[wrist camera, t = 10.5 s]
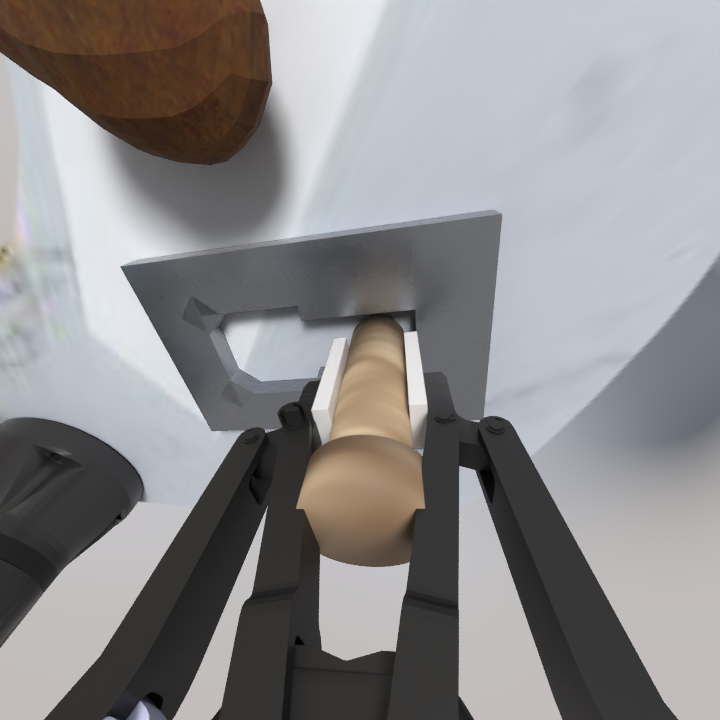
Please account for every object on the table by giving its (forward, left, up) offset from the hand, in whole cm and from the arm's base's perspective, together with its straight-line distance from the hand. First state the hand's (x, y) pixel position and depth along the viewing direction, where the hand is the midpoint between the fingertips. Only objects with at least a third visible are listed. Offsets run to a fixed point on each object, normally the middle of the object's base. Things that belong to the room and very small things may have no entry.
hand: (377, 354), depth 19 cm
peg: (0, 0, -2) cm, 2 cm away
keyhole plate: (-4, 0, -3) cm, 5 cm away
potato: (-7, +15, -3) cm, 17 cm away
